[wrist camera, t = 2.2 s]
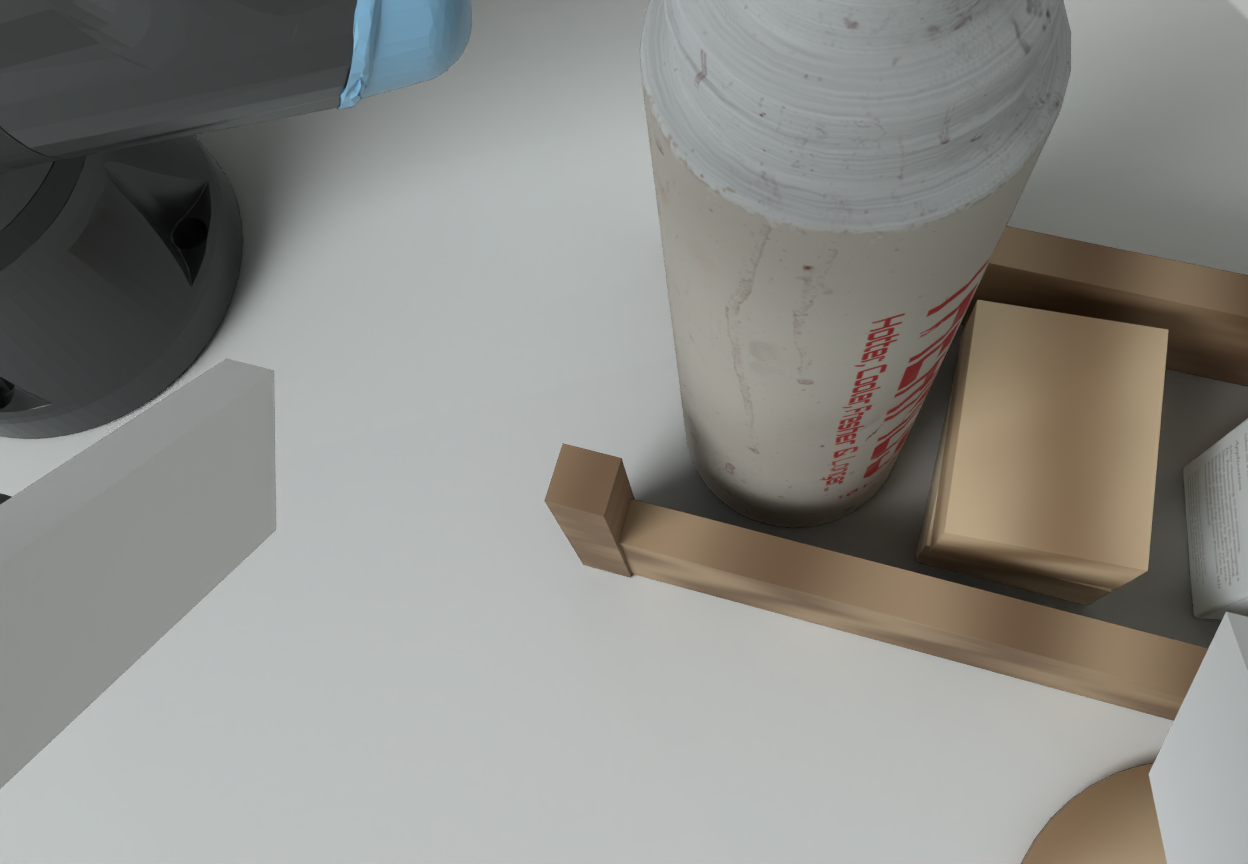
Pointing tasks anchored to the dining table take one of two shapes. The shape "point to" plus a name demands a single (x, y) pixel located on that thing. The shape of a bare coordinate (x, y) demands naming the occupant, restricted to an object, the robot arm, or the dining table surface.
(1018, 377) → the upper offcut
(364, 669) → the dining table surface
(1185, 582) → the dining table surface
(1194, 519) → the small box
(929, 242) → the thermos bottle
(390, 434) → the dining table surface
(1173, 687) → the rack
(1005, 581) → the lower offcut
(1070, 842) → the coaster
